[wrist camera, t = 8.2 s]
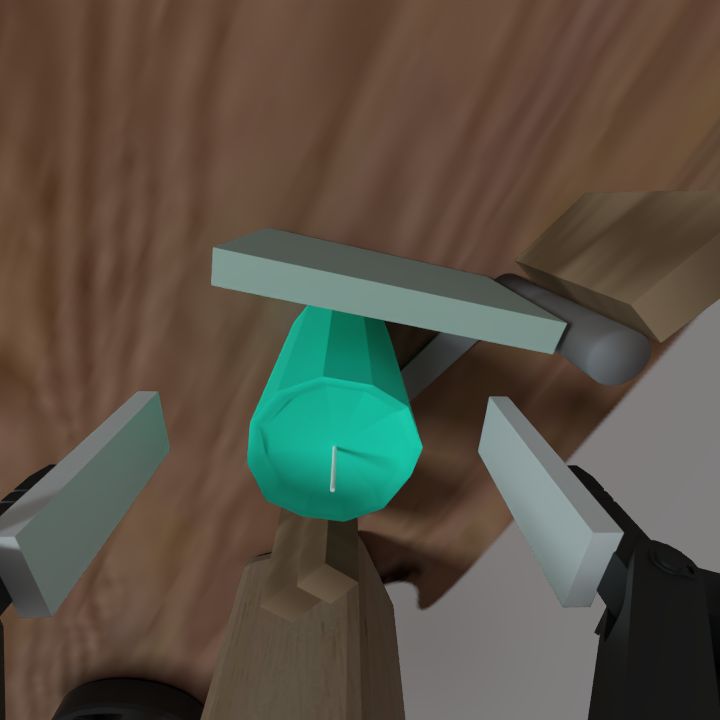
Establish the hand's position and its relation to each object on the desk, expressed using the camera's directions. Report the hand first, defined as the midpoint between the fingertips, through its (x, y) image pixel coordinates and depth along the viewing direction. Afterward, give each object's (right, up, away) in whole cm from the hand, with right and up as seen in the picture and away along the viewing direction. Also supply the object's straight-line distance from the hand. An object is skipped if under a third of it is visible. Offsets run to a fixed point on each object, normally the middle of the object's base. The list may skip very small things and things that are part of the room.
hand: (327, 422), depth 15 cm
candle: (0, +4, +7) cm, 8 cm away
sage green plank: (+2, +8, +5) cm, 9 cm away
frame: (+5, +2, +8) cm, 10 cm away
